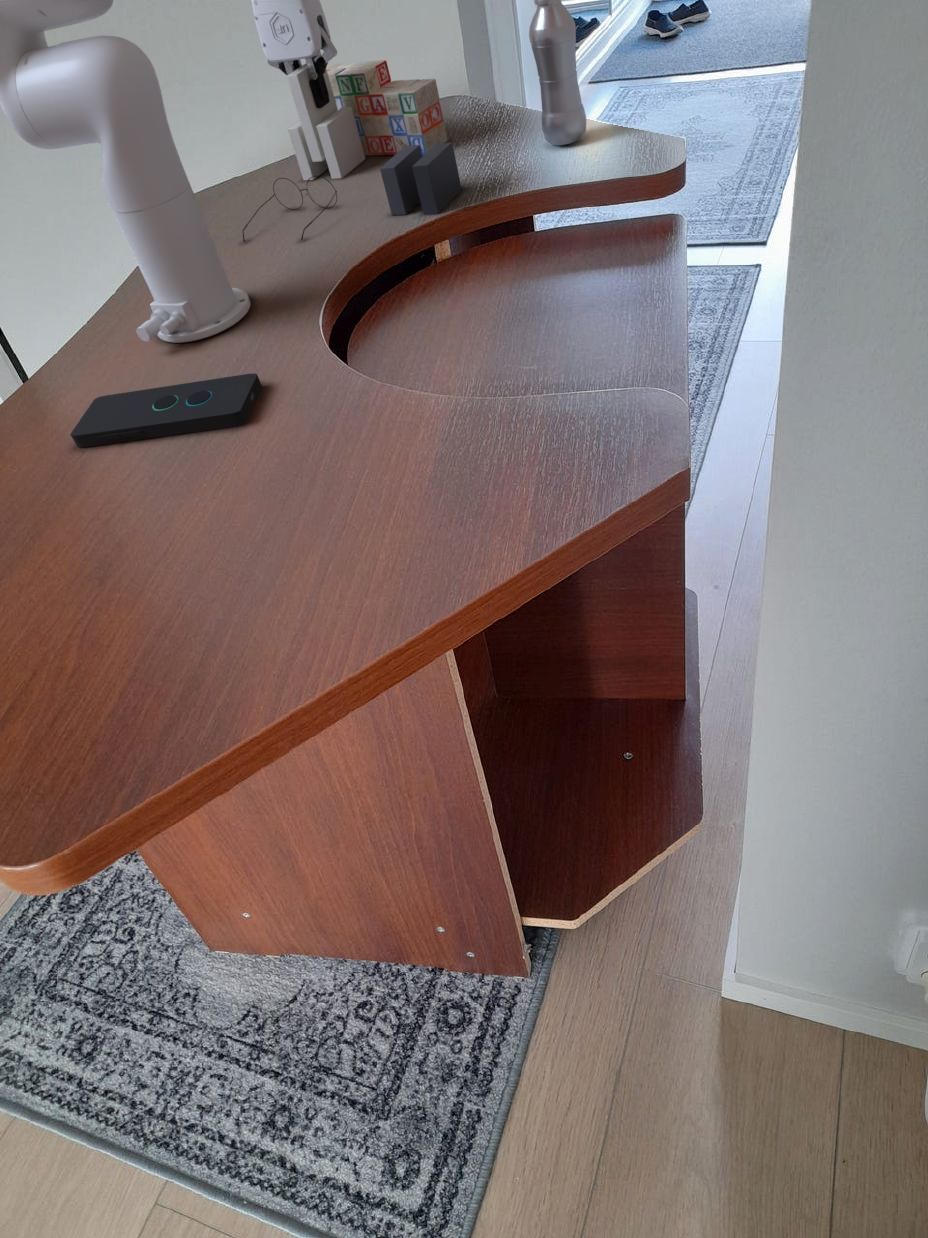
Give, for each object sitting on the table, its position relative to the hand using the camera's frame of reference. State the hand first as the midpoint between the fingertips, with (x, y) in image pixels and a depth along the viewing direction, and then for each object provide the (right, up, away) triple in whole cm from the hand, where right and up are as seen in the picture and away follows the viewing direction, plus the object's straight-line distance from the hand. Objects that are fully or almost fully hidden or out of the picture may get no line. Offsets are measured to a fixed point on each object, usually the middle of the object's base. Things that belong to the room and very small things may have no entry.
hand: (316, 104), depth 142 cm
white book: (+1, -5, +5) cm, 7 cm away
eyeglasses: (-2, -22, -8) cm, 24 cm away
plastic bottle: (+39, -10, -7) cm, 41 cm away
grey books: (+18, -21, -13) cm, 31 cm away
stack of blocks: (+11, -2, +9) cm, 14 cm away
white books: (+2, -7, +7) cm, 10 cm away
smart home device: (-9, -59, -43) cm, 73 cm away
